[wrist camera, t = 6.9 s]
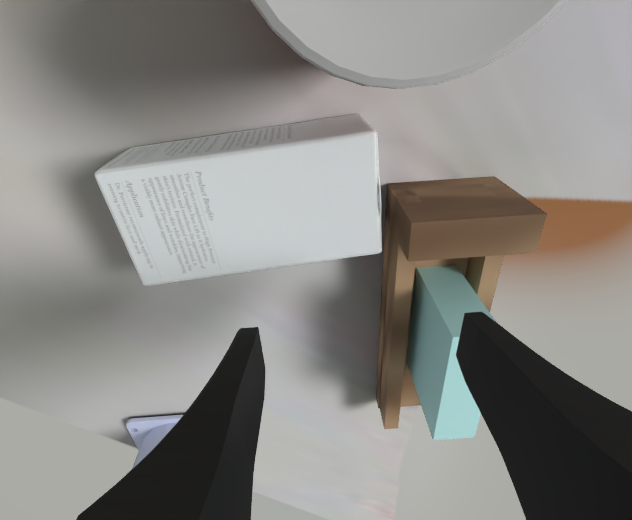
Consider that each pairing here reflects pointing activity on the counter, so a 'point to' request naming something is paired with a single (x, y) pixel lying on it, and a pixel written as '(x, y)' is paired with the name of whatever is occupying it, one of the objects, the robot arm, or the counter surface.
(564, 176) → the counter surface
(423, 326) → the door panel
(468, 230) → the track
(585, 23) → the counter surface
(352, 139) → the skincare box
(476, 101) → the counter surface
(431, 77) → the canned food
